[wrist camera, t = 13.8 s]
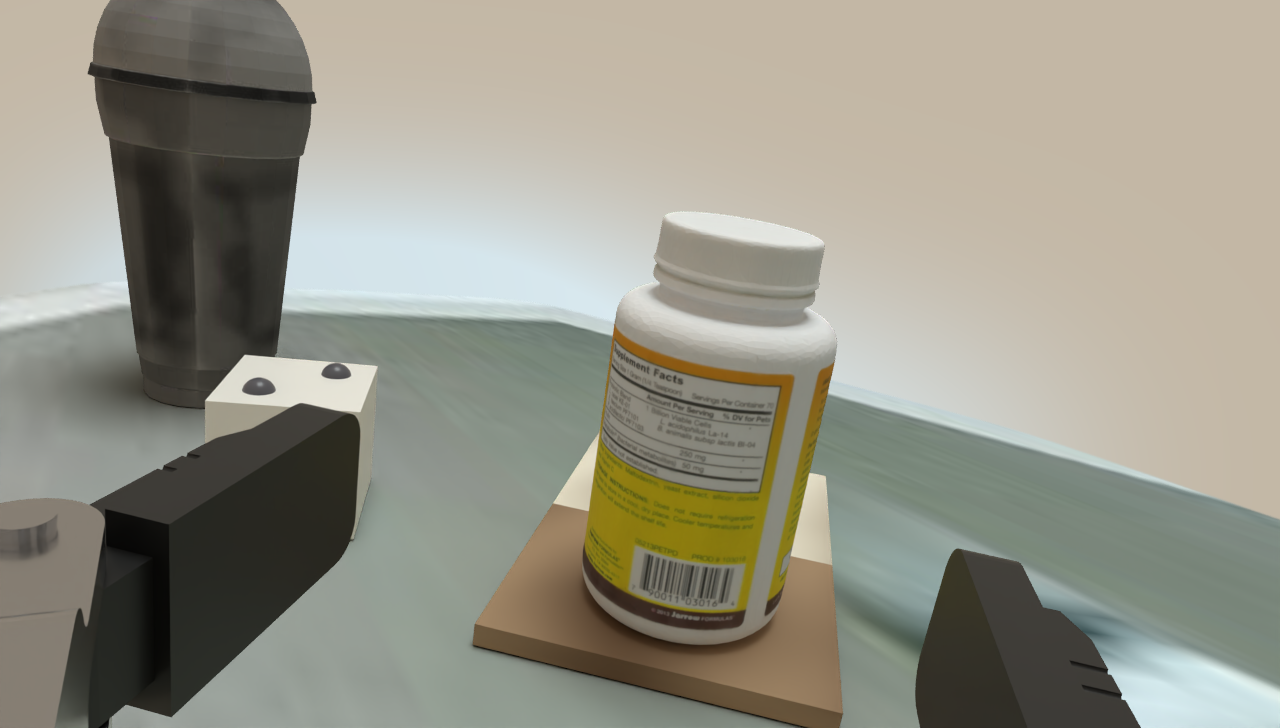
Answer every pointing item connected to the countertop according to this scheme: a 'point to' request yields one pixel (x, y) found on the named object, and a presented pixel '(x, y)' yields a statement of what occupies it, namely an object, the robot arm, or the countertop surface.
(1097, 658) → the robot arm
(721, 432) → the supplement bottle
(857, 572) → the countertop surface
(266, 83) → the beverage cup
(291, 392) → the die
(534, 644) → the game track
